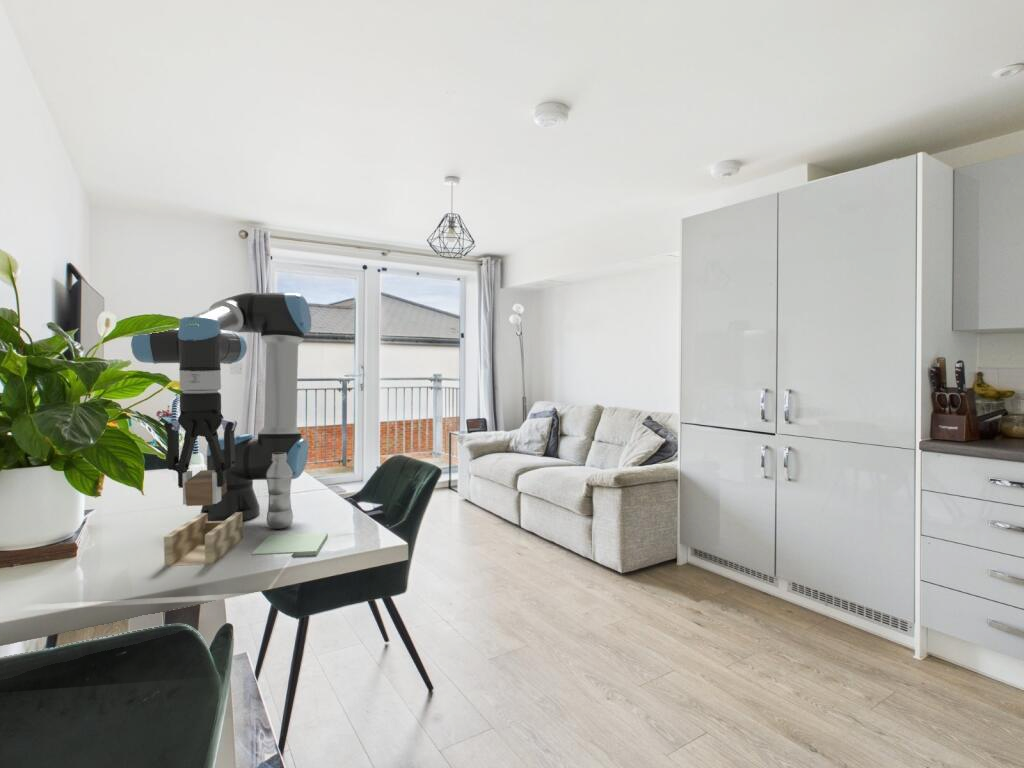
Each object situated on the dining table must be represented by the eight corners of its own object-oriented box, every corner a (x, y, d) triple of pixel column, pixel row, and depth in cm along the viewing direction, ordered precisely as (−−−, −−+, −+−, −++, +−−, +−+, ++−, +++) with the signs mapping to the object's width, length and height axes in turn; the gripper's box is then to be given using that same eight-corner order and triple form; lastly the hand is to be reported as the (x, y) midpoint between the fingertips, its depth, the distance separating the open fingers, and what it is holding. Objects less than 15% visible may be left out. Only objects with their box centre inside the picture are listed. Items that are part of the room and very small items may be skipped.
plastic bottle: (298, 525, 149) (298, 452, 149) (280, 532, 143) (280, 455, 142) (279, 523, 152) (278, 450, 151) (260, 530, 145) (260, 454, 145)
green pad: (269, 539, 137) (269, 535, 137) (327, 536, 139) (327, 532, 139) (251, 558, 124) (251, 553, 123) (316, 555, 126) (316, 550, 126)
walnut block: (202, 492, 122) (201, 470, 121) (226, 491, 123) (225, 469, 122) (186, 505, 114) (184, 482, 113) (212, 505, 115) (210, 482, 114)
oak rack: (201, 542, 135) (200, 513, 135) (242, 540, 136) (242, 512, 136) (164, 569, 116) (164, 536, 116) (212, 567, 118) (212, 534, 117)
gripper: (144, 392, 110) (146, 508, 111) (239, 392, 113) (241, 505, 113) (163, 390, 118) (165, 499, 119) (252, 390, 120) (253, 497, 121)
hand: (202, 502), depth 116 cm, fingers closed on walnut block, 5 cm apart
